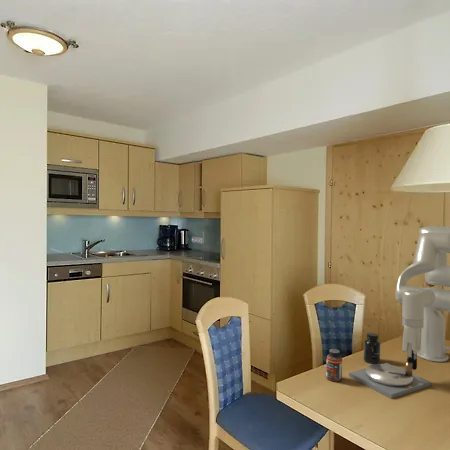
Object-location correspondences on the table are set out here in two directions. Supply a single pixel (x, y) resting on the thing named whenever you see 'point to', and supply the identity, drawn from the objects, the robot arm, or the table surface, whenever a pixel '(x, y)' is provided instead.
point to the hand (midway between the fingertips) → (411, 368)
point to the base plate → (389, 390)
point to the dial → (390, 374)
